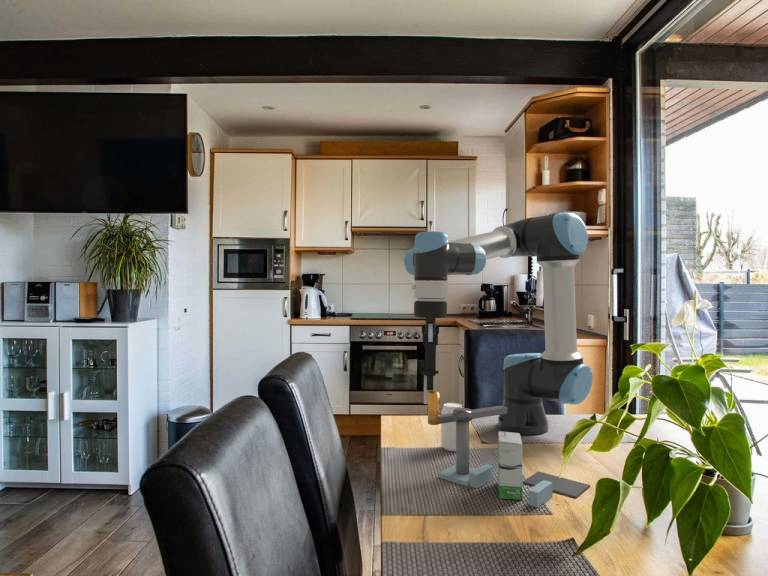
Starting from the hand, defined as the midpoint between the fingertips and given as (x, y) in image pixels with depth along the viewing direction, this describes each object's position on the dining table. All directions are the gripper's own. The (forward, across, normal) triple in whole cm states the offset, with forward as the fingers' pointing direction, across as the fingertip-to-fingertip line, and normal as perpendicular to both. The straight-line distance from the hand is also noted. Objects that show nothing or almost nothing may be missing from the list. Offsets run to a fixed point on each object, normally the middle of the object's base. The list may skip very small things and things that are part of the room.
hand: (429, 403), depth 113 cm
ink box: (+18, +5, +17) cm, 25 cm away
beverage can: (+18, -22, +6) cm, 29 cm away
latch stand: (+17, +3, +14) cm, 23 cm away
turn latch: (+4, -3, +9) cm, 10 cm away
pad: (+17, +1, +28) cm, 33 cm away
